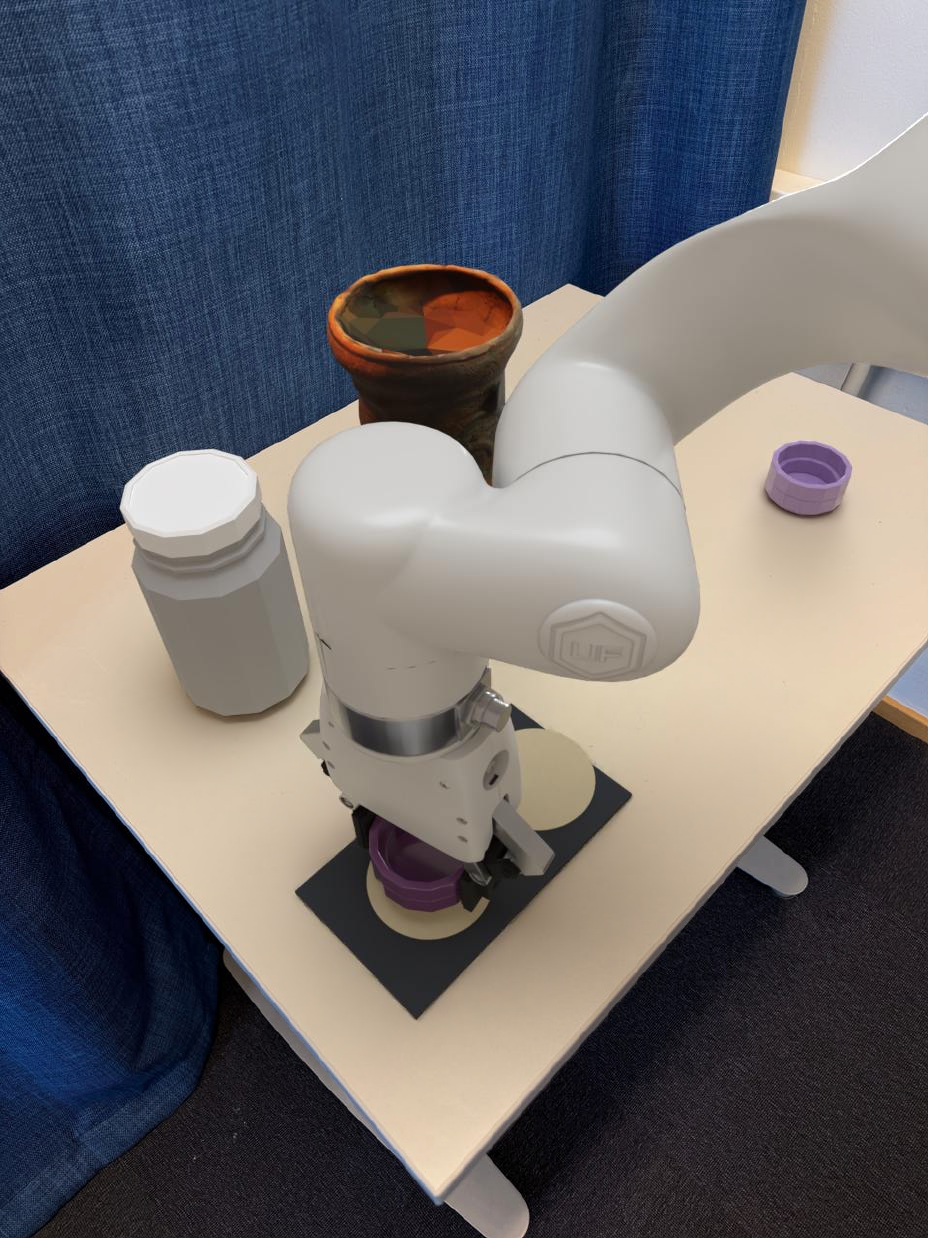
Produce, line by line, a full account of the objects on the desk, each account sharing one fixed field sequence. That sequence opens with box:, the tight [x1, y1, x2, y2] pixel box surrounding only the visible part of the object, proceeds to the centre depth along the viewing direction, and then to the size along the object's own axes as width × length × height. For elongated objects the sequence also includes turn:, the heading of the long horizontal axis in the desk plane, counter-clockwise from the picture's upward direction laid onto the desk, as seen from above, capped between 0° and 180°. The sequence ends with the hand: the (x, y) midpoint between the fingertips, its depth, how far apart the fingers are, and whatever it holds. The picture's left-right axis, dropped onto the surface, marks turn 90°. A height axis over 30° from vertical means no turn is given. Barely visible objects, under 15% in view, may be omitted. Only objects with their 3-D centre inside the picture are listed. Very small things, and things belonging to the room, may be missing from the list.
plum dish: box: [369, 815, 465, 912], centre depth 54 cm, size 7×7×3 cm
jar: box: [119, 448, 310, 717], centre depth 62 cm, size 10×10×18 cm
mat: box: [294, 702, 633, 1021], centre depth 59 cm, size 20×11×1 cm, turn 136°
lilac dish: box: [764, 439, 853, 516], centre depth 80 cm, size 7×7×3 cm
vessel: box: [326, 263, 524, 487], centre depth 73 cm, size 14×14×20 cm
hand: (427, 858), depth 55 cm, fingers closed on plum dish, 6 cm apart
